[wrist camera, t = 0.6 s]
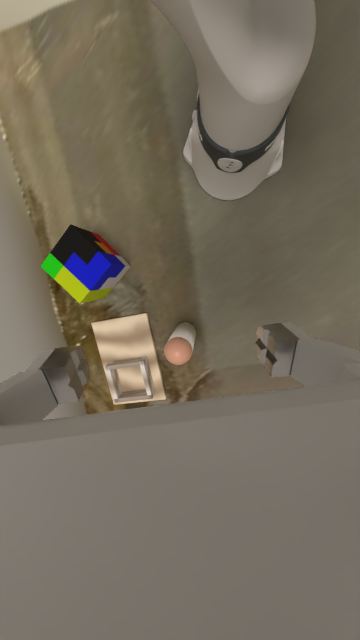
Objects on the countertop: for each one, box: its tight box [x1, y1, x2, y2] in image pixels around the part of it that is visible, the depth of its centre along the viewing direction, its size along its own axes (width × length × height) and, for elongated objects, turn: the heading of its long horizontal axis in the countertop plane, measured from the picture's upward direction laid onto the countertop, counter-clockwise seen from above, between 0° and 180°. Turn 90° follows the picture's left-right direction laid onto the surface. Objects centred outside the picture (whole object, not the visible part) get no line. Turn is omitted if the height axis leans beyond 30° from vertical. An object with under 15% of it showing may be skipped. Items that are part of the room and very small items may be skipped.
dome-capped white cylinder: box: [164, 322, 196, 365], centre depth 42 cm, size 5×5×14 cm
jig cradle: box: [91, 313, 167, 405], centre depth 50 cm, size 22×14×4 cm, turn 11°
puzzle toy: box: [41, 224, 131, 303], centre depth 44 cm, size 10×10×10 cm
